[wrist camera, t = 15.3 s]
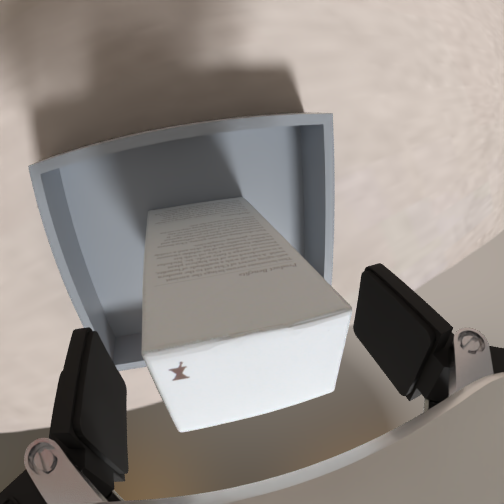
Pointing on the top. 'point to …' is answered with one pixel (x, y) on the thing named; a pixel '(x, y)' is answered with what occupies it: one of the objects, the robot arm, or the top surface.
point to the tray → (178, 204)
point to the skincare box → (234, 316)
